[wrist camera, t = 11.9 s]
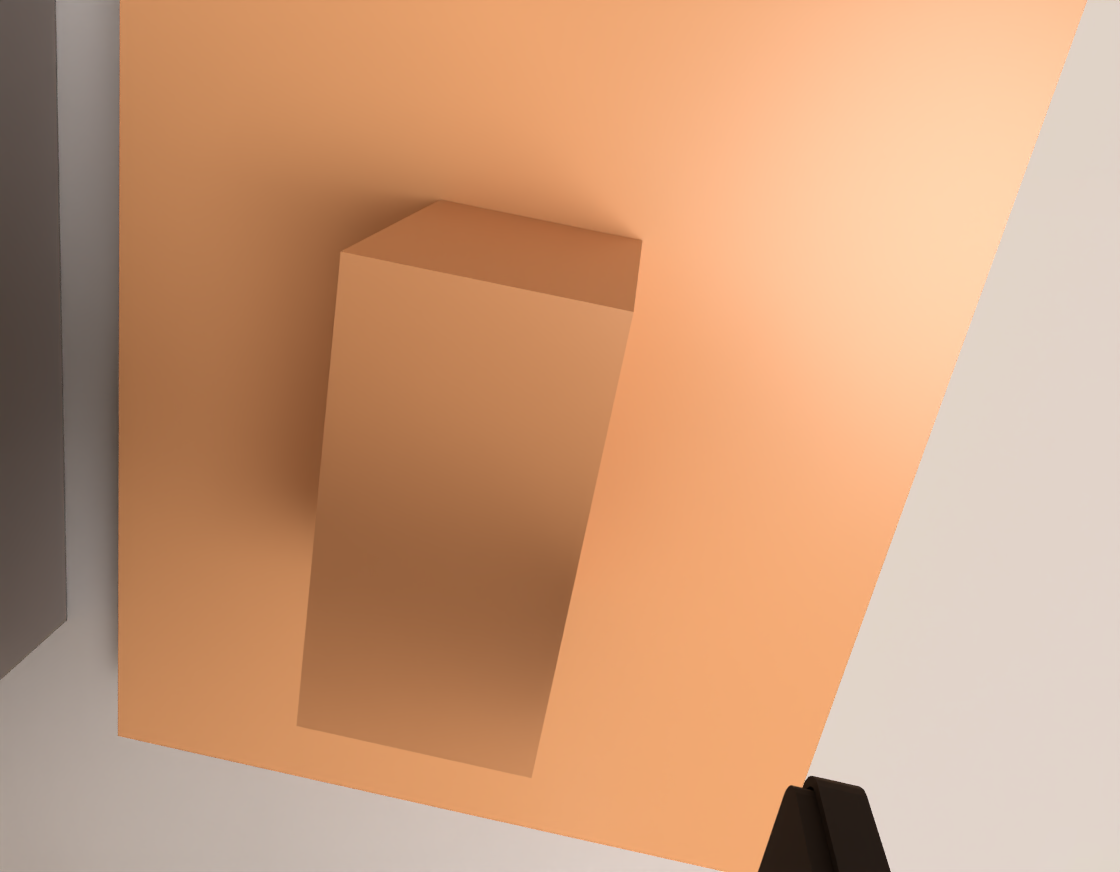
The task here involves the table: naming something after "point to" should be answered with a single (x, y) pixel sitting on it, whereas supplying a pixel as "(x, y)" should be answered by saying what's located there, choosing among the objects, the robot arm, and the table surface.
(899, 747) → the table surface
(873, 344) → the lid
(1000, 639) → the table surface
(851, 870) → the robot arm
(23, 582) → the tub
